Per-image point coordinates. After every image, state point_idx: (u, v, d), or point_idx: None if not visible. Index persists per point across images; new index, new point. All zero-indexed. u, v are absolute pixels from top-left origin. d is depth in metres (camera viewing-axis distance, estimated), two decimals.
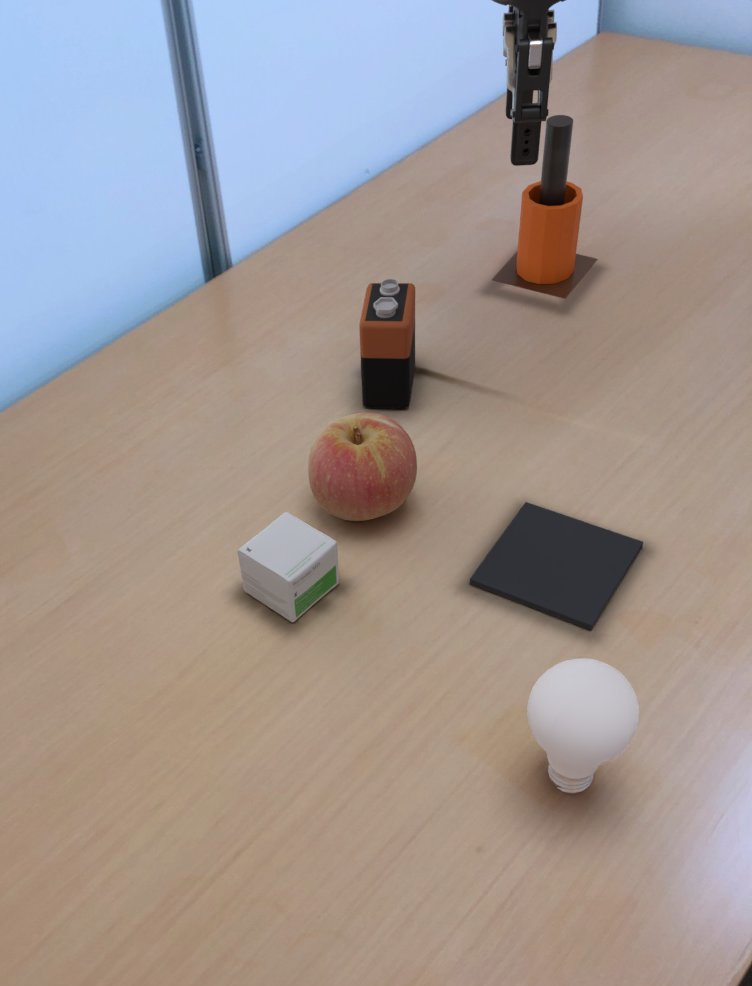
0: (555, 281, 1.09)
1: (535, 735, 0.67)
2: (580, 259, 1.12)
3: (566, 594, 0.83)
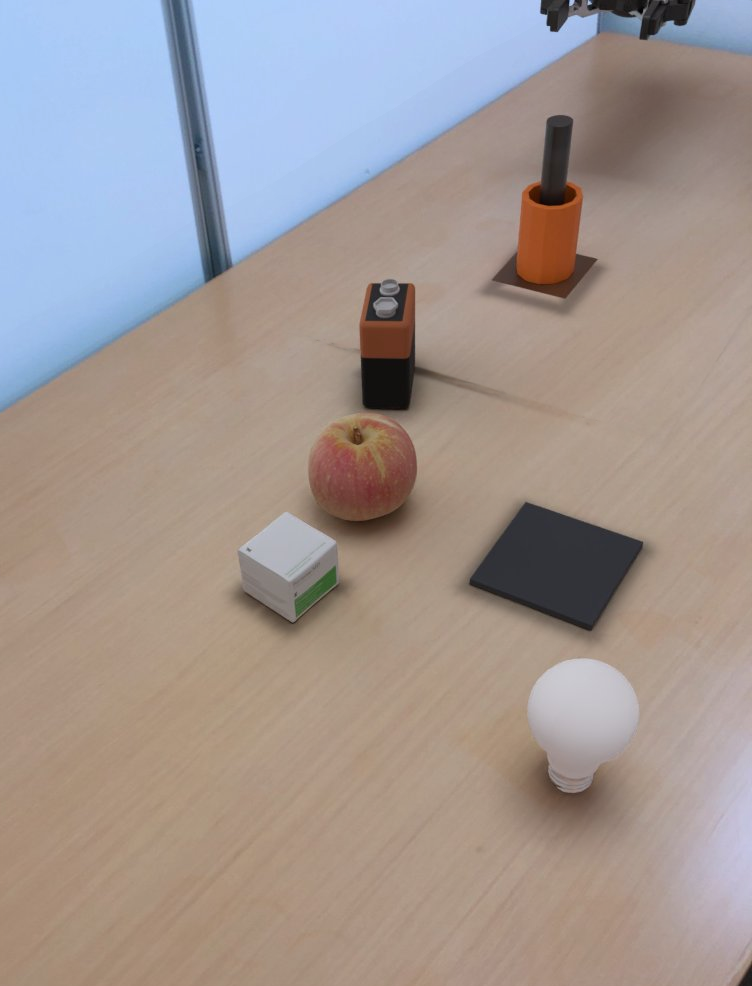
0: (555, 281, 1.09)
1: (535, 735, 0.67)
2: (580, 259, 1.12)
3: (566, 594, 0.83)
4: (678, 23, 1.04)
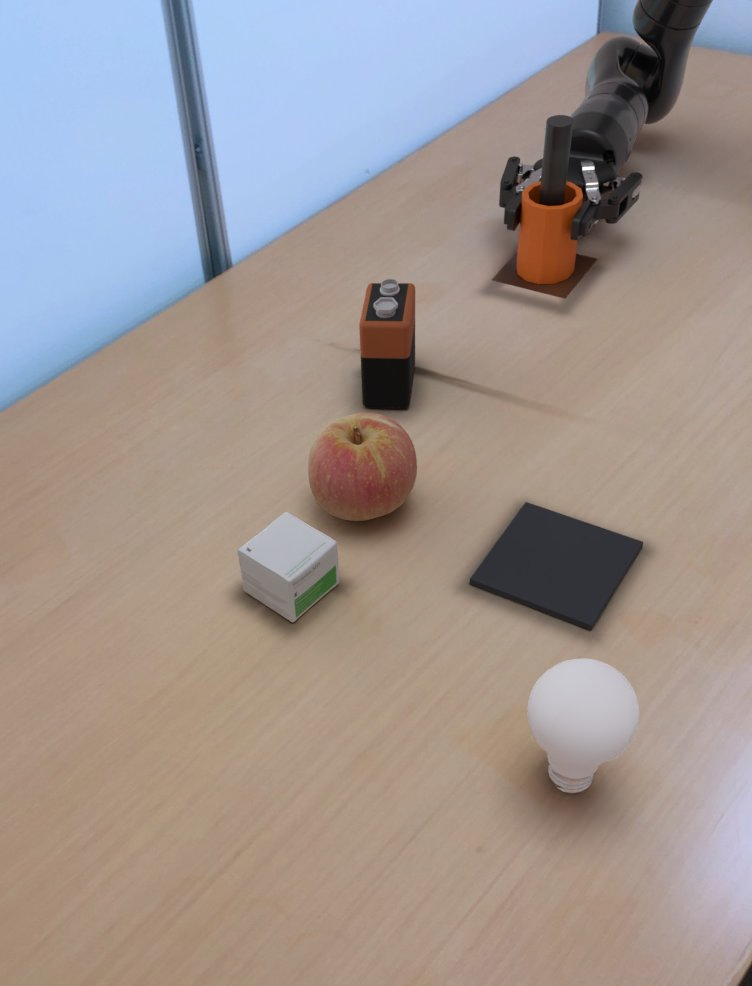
0: (555, 281, 1.09)
1: (535, 735, 0.67)
2: (580, 259, 1.12)
3: (566, 594, 0.83)
4: (608, 221, 1.07)
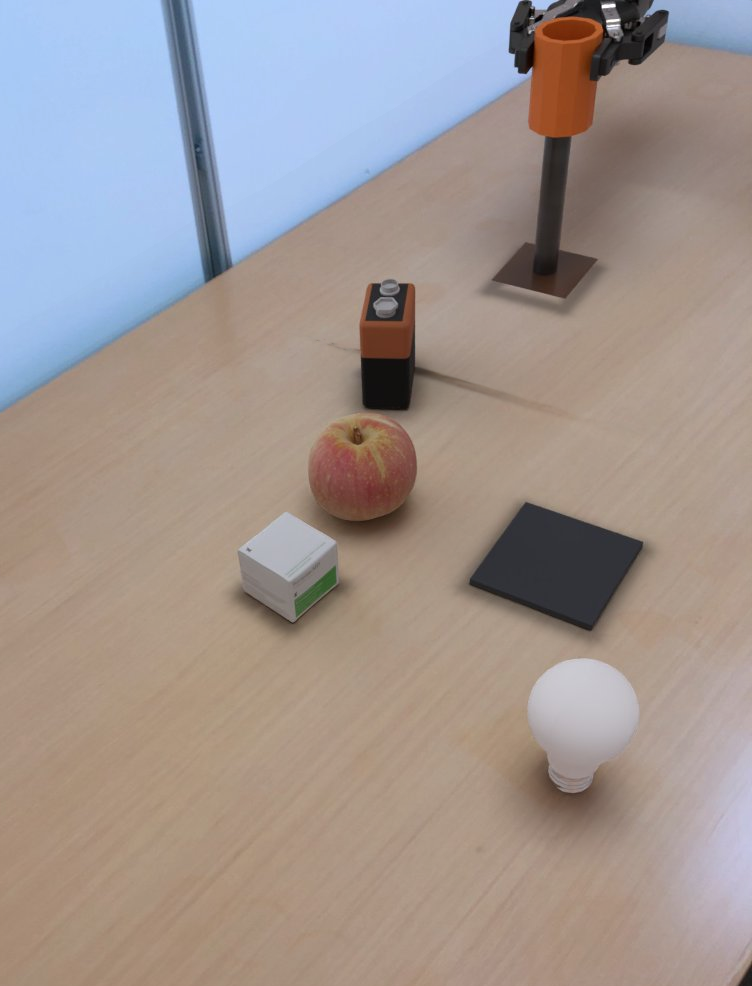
0: (572, 133, 0.98)
1: (535, 735, 0.67)
2: (580, 259, 1.12)
3: (566, 594, 0.83)
4: (631, 62, 0.96)
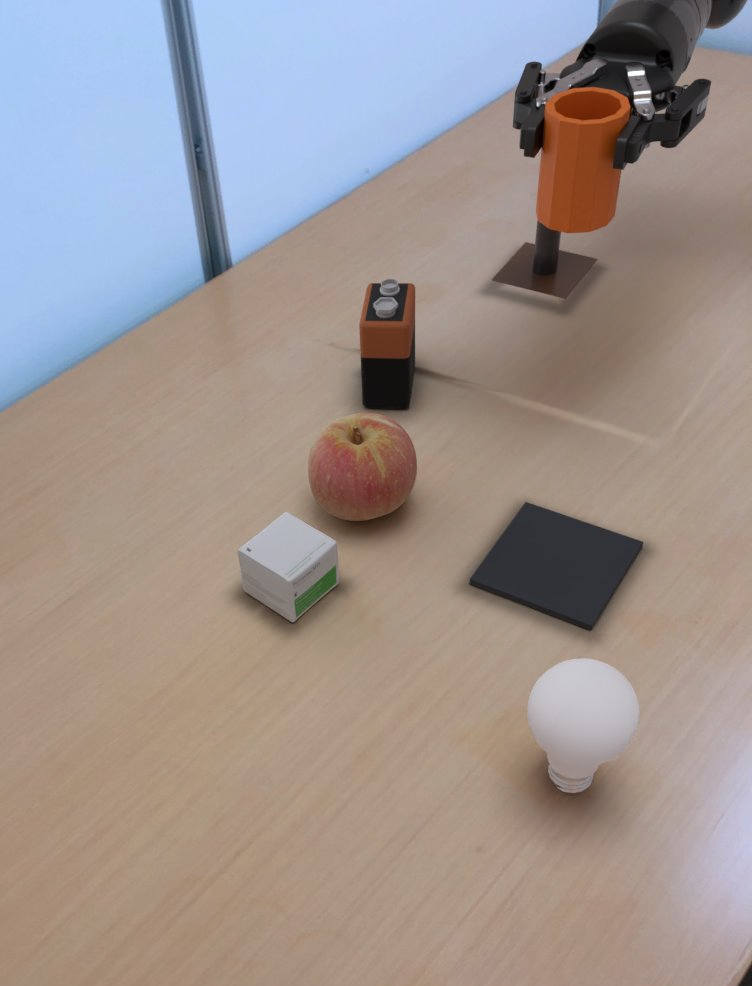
0: (590, 229, 0.80)
1: (535, 735, 0.67)
2: (580, 259, 1.12)
3: (566, 594, 0.83)
4: (664, 144, 0.77)
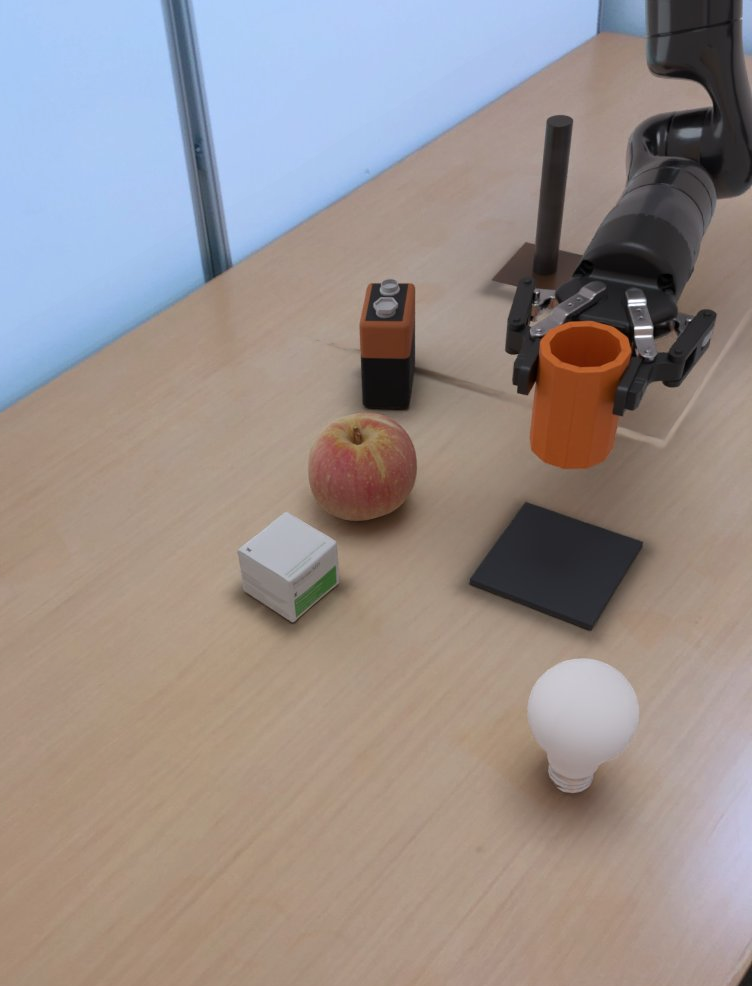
0: (587, 465, 0.75)
1: (535, 735, 0.67)
2: (580, 259, 1.12)
3: (566, 594, 0.83)
4: (666, 384, 0.72)
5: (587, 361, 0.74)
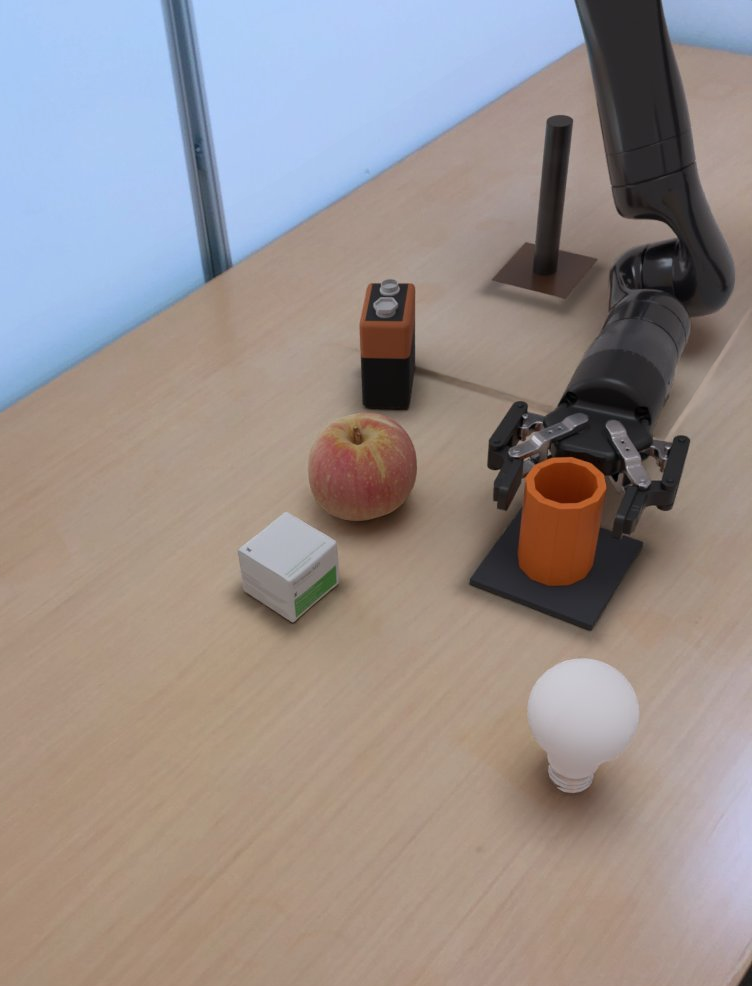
0: (569, 583, 0.84)
1: (535, 735, 0.67)
2: (580, 259, 1.12)
3: (566, 594, 0.83)
4: (661, 508, 0.81)
5: (568, 490, 0.83)
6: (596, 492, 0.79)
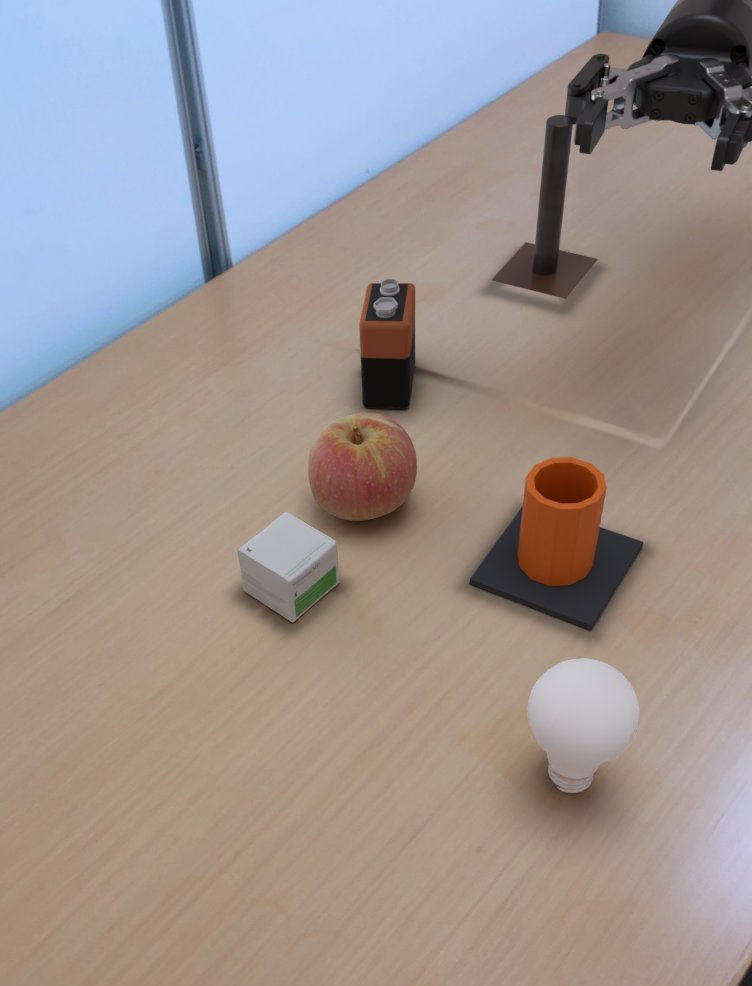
0: (569, 583, 0.84)
1: (535, 735, 0.67)
2: (580, 259, 1.12)
3: (566, 594, 0.83)
4: None
5: (568, 490, 0.83)
6: (596, 492, 0.79)
